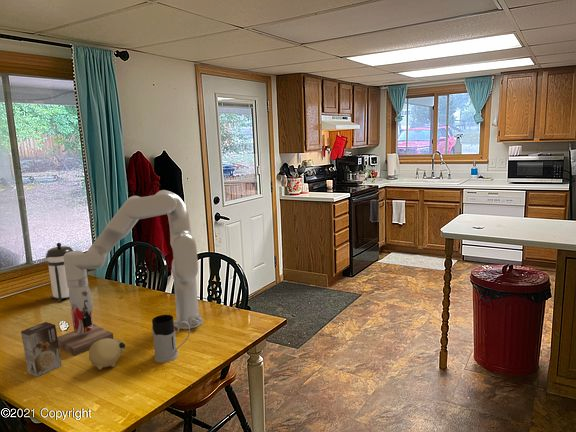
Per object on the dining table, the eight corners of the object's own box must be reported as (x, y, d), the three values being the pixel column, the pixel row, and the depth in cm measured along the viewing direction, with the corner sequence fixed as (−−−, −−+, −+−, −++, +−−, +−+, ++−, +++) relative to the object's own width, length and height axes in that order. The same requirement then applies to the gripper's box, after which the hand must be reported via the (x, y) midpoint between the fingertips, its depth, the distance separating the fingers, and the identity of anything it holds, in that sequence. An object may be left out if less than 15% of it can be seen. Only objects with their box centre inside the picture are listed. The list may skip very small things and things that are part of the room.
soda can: (85, 335, 169) (82, 307, 167) (70, 334, 170) (66, 306, 168) (97, 327, 176) (93, 300, 173) (82, 327, 177) (78, 299, 175)
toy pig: (130, 363, 156) (127, 335, 154) (98, 377, 147) (94, 348, 145) (117, 354, 162) (114, 328, 160) (86, 368, 153) (82, 340, 151)
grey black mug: (158, 350, 164) (154, 314, 161) (195, 350, 163) (192, 313, 161) (150, 362, 155) (146, 324, 153) (189, 361, 155) (185, 323, 152)
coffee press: (74, 302, 220) (67, 245, 214) (44, 303, 220) (35, 246, 215) (90, 290, 237) (83, 238, 231) (62, 291, 237) (54, 238, 232)
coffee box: (52, 361, 159) (46, 321, 156) (62, 365, 156) (56, 324, 153) (27, 373, 151) (20, 330, 149) (36, 377, 148) (30, 334, 145)
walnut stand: (113, 339, 175) (112, 333, 174) (74, 355, 163) (73, 348, 162) (94, 330, 185) (93, 323, 184) (56, 344, 172) (55, 337, 172)
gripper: (97, 283, 167) (102, 325, 170) (76, 275, 177) (82, 316, 181) (78, 288, 161) (84, 332, 164) (58, 280, 172) (64, 322, 175)
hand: (83, 323), depth 172 cm, fingers closed on soda can, 6 cm apart
